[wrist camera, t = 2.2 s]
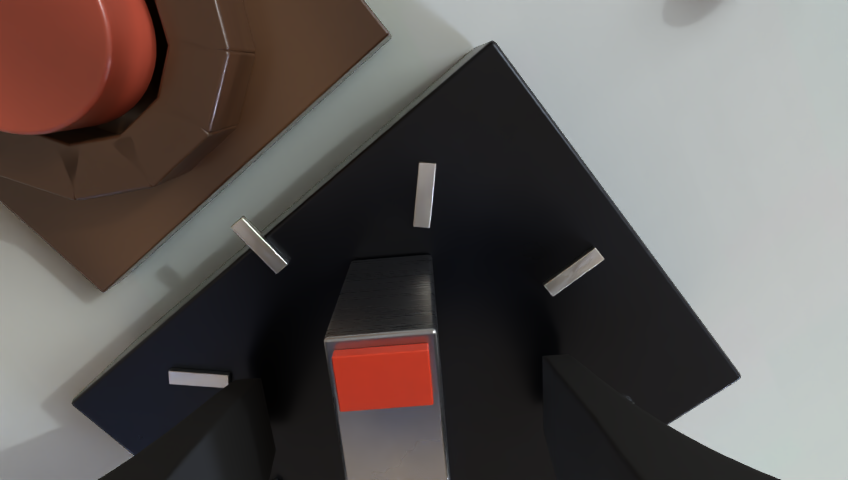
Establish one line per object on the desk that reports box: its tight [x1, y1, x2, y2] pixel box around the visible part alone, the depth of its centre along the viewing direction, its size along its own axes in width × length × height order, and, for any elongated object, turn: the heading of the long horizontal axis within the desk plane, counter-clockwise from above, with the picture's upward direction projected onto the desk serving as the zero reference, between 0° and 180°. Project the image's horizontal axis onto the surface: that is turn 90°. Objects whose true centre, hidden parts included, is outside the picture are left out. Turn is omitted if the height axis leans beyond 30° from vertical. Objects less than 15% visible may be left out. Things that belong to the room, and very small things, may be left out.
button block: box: [0, 0, 391, 292], centre depth 12 cm, size 10×8×3 cm
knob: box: [324, 255, 450, 480], centre depth 11 cm, size 7×2×4 cm, turn 5°
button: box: [0, 0, 156, 135], centre depth 10 cm, size 4×4×2 cm
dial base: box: [72, 41, 741, 480], centre depth 14 cm, size 13×11×3 cm
